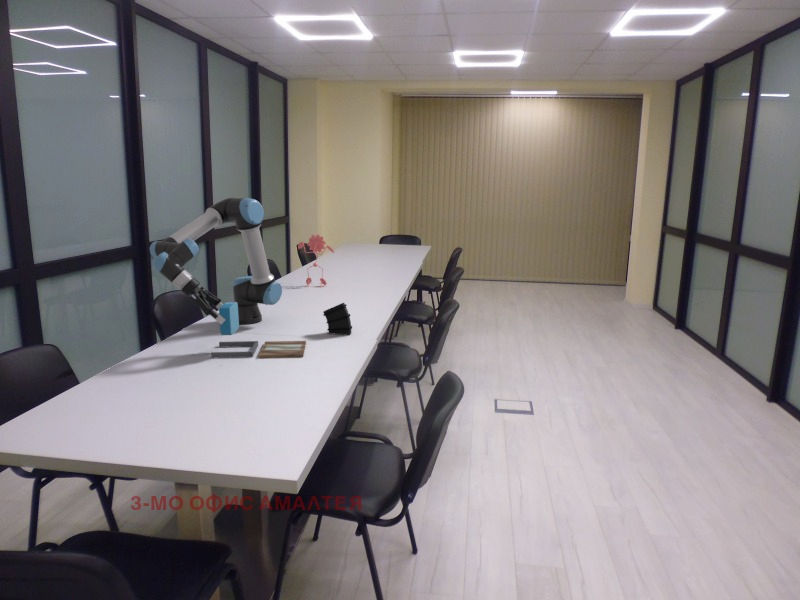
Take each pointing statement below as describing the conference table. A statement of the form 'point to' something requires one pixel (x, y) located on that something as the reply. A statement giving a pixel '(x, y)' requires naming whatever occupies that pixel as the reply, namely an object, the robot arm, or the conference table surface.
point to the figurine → (315, 245)
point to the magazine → (338, 319)
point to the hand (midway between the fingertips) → (226, 318)
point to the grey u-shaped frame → (236, 354)
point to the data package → (229, 318)
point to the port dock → (282, 349)
